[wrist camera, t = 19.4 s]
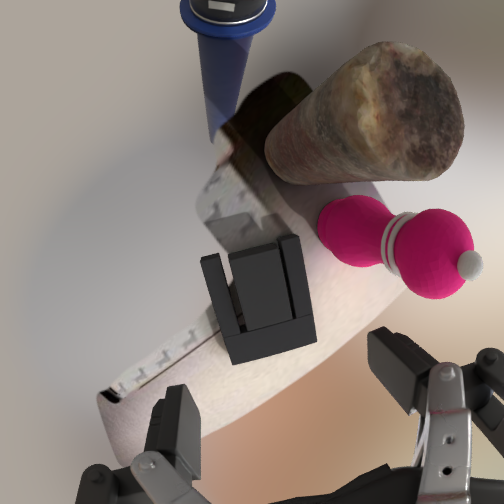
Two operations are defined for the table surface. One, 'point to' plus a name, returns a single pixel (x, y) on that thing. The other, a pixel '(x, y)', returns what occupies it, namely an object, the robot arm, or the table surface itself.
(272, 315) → the black block
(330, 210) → the pepper mill
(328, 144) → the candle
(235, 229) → the table surface
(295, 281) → the black u-shaped piece
